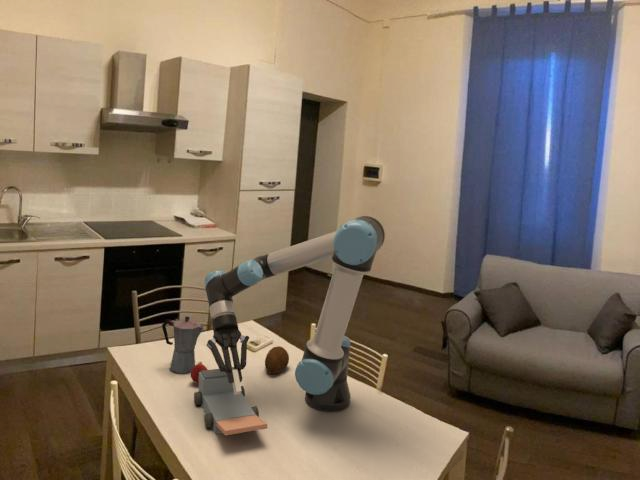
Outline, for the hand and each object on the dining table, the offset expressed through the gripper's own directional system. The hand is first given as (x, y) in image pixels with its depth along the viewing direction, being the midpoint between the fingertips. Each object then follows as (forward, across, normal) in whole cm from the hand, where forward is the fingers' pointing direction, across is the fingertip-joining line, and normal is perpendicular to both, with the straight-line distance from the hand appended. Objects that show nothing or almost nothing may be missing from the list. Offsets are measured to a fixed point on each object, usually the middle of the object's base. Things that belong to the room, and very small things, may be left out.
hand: (238, 393), depth 153 cm
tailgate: (+5, 0, -7) cm, 9 cm away
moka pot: (-24, +6, -42) cm, 49 cm away
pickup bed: (0, 0, -18) cm, 18 cm away
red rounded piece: (-15, +3, -32) cm, 36 cm away
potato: (-17, -26, -35) cm, 46 cm away
